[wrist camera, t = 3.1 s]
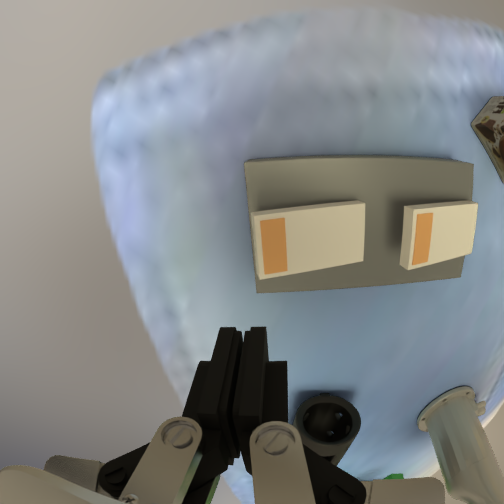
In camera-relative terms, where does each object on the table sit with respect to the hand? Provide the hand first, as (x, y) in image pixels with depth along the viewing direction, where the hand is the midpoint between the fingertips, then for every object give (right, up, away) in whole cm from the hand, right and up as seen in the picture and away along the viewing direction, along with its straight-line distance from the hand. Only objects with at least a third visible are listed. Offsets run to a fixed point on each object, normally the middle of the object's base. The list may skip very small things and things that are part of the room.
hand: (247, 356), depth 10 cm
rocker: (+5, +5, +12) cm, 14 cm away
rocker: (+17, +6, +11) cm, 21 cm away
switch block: (+11, +8, +17) cm, 22 cm away
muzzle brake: (+10, -29, +32) cm, 44 cm away
